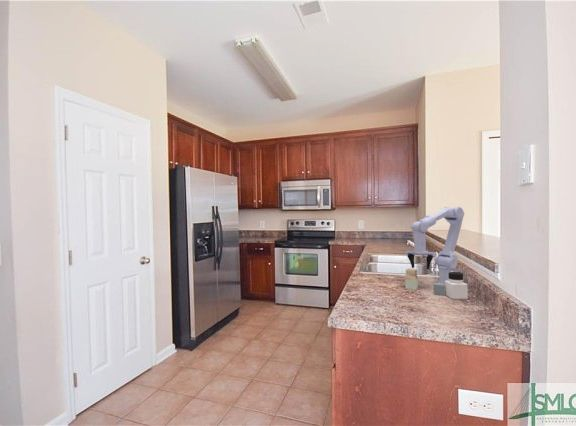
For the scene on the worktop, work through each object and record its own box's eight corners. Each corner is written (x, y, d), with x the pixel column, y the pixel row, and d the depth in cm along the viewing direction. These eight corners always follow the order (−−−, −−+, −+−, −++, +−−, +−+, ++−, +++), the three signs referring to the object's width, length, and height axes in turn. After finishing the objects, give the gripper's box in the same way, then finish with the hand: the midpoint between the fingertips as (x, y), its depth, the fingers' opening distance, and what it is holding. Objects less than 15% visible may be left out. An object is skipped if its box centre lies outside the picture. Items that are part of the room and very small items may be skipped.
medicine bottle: (468, 299, 131) (467, 273, 131) (452, 299, 131) (452, 273, 131) (459, 294, 138) (458, 270, 138) (444, 294, 138) (444, 270, 138)
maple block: (408, 277, 154) (408, 268, 154) (417, 278, 151) (417, 269, 151) (406, 279, 150) (405, 270, 150) (414, 280, 147) (414, 271, 147)
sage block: (408, 286, 154) (408, 277, 154) (417, 288, 151) (417, 278, 151) (405, 288, 150) (405, 279, 150) (415, 290, 147) (415, 280, 147)
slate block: (433, 292, 143) (433, 282, 143) (443, 293, 141) (443, 283, 141) (434, 294, 139) (434, 284, 139) (444, 295, 137) (444, 285, 137)
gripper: (403, 243, 154) (404, 268, 154) (432, 245, 145) (433, 271, 145) (407, 242, 160) (408, 266, 160) (435, 243, 151) (436, 268, 151)
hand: (420, 268), depth 153 cm, fingers open, 7 cm apart
